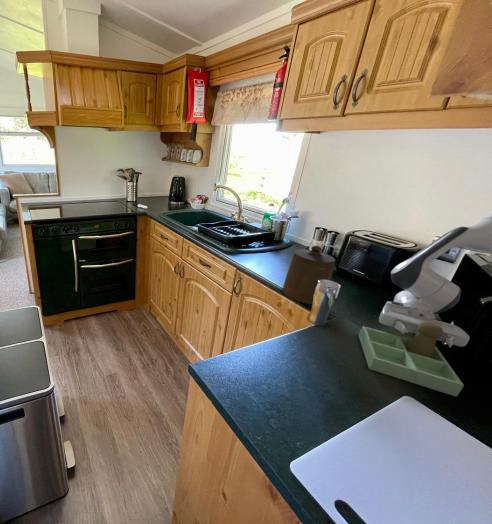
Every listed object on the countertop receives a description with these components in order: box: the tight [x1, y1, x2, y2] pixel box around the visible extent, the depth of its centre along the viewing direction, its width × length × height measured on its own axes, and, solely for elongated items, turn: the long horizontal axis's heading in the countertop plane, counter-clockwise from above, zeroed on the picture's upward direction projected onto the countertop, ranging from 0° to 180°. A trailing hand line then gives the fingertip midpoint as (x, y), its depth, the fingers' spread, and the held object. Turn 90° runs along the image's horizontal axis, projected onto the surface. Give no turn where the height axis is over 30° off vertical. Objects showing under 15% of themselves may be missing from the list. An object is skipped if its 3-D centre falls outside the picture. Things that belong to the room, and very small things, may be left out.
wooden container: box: [282, 245, 336, 305], centre depth 117 cm, size 15×15×22 cm
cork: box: [406, 322, 443, 358], centre depth 84 cm, size 6×6×11 cm
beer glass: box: [306, 279, 342, 327], centre depth 99 cm, size 7×7×15 cm
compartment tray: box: [358, 325, 465, 398], centre depth 83 cm, size 18×18×4 cm
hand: (426, 338), depth 83 cm, fingers open, 8 cm apart
